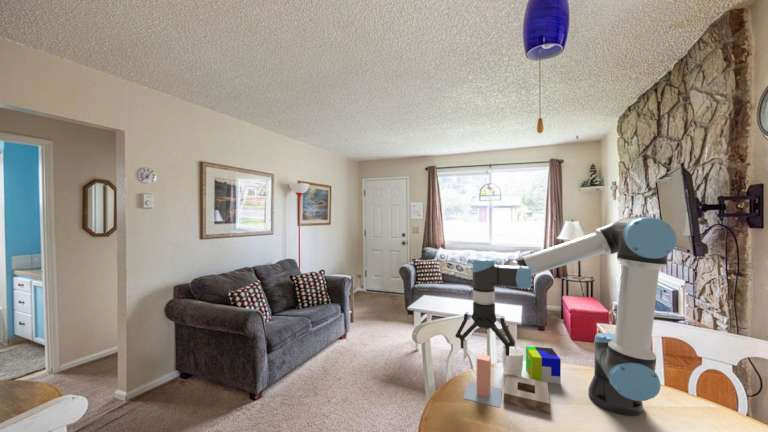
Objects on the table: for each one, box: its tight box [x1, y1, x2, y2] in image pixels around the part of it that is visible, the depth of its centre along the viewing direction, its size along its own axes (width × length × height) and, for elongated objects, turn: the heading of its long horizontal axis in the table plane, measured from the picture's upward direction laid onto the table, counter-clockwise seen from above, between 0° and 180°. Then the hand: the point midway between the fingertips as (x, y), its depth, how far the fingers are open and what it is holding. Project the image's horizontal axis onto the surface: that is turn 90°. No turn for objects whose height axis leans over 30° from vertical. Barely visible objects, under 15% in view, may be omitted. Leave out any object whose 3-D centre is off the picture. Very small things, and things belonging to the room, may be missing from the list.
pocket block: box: [503, 374, 551, 415], centre depth 109 cm, size 14×14×4 cm
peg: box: [476, 353, 492, 398], centre depth 111 cm, size 4×4×13 cm
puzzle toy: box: [525, 345, 562, 385], centre depth 124 cm, size 10×10×10 cm
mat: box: [463, 381, 503, 408], centre depth 111 cm, size 12×12×1 cm
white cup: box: [501, 346, 524, 377], centre depth 125 cm, size 8×8×10 cm
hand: (484, 360), depth 111 cm, fingers open, 13 cm apart
